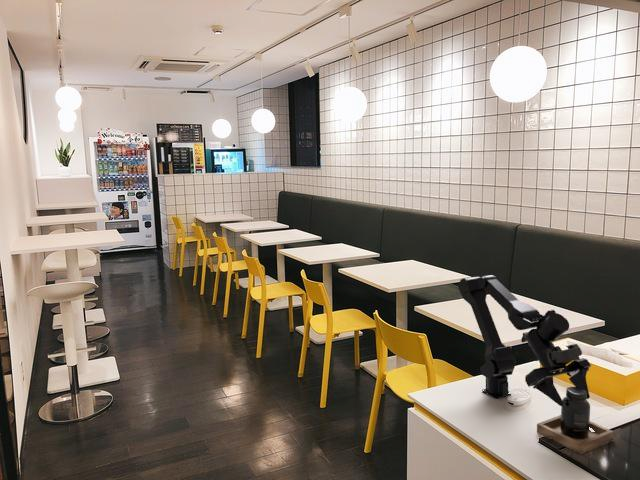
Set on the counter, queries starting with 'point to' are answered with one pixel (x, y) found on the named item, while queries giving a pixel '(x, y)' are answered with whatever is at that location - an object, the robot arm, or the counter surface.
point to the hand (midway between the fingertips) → (575, 401)
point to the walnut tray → (577, 445)
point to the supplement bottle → (575, 413)
